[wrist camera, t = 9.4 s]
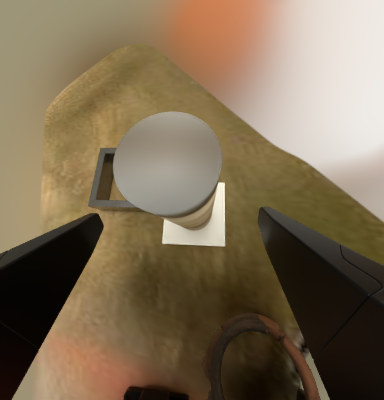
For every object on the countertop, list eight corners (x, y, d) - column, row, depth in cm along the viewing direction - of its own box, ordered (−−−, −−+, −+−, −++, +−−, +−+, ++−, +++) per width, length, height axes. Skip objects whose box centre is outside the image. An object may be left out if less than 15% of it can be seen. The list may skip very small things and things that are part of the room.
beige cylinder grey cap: (211, 231, 19) (222, 214, 6) (175, 229, 19) (104, 212, 6) (211, 196, 20) (221, 109, 7) (177, 195, 20) (121, 113, 7)
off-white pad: (224, 246, 19) (225, 246, 18) (162, 243, 20) (162, 243, 19) (224, 183, 21) (224, 182, 20) (168, 183, 22) (167, 182, 21)
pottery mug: (194, 408, 16) (176, 436, 10) (222, 306, 21) (221, 286, 16) (349, 533, 11) (484, 725, 5) (333, 359, 17) (389, 359, 11)
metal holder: (158, 211, 21) (152, 207, 18) (101, 210, 21) (88, 206, 19) (163, 157, 23) (158, 147, 20) (111, 157, 23) (100, 148, 21)
